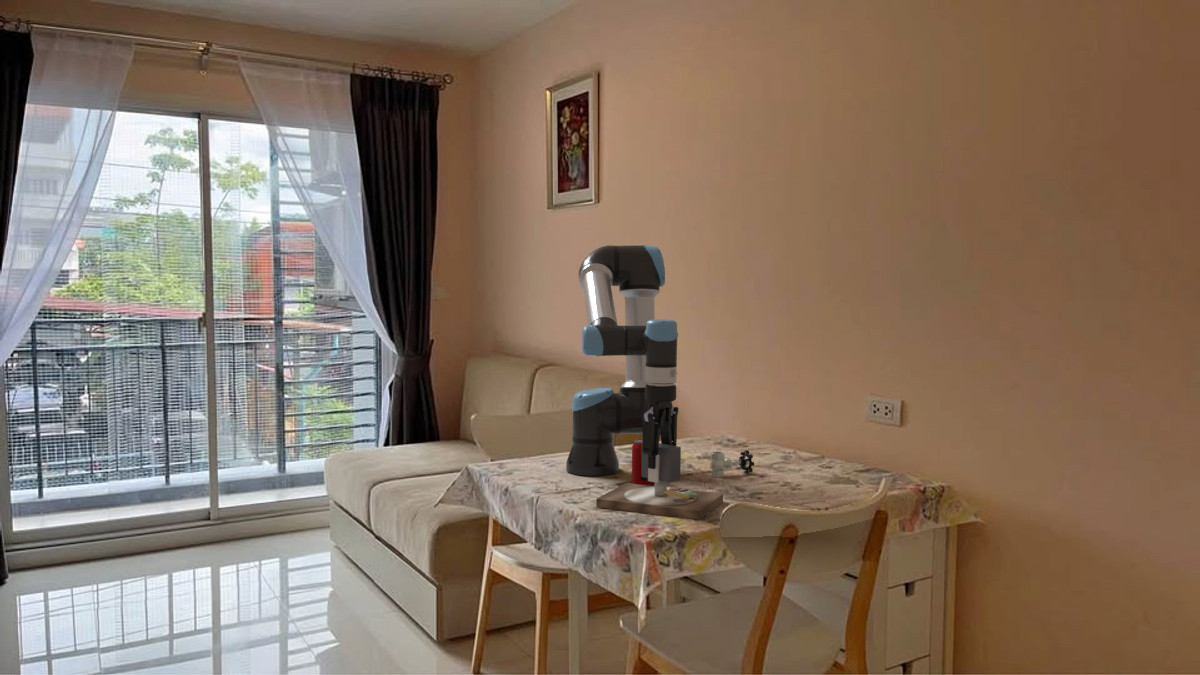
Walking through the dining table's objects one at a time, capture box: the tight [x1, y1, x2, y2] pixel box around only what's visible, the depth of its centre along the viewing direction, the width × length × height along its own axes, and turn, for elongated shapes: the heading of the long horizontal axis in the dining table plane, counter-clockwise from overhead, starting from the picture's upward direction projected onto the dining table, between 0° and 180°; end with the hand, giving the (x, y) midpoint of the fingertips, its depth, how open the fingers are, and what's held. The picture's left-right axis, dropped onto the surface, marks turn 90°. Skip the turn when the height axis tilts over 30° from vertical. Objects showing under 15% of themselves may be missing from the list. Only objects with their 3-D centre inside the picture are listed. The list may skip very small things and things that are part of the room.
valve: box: [709, 449, 755, 478], centre depth 240 cm, size 7×7×12 cm
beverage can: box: [631, 438, 654, 486], centre depth 227 cm, size 7×7×12 cm
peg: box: [641, 442, 690, 499], centre depth 205 cm, size 13×4×12 cm, turn 46°
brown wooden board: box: [595, 482, 724, 521], centre depth 207 cm, size 26×18×2 cm
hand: (659, 479), depth 207 cm, fingers closed on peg, 5 cm apart
